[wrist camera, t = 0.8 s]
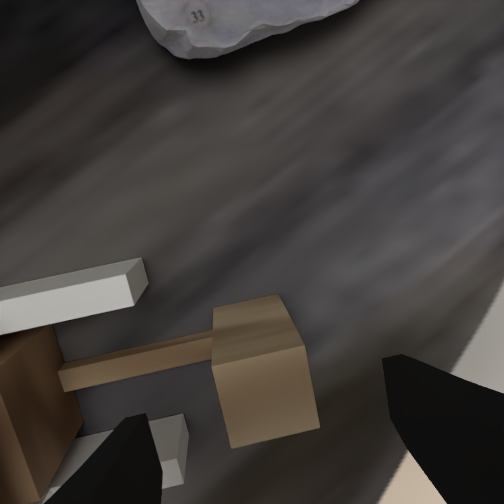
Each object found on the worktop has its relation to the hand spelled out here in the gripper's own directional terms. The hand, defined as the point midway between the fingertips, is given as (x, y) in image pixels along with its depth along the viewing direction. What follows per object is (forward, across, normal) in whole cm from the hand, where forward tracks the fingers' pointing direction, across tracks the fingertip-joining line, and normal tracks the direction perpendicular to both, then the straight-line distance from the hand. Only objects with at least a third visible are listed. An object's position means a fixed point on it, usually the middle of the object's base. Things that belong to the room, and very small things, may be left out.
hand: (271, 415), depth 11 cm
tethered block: (+6, +6, 0) cm, 9 cm away
